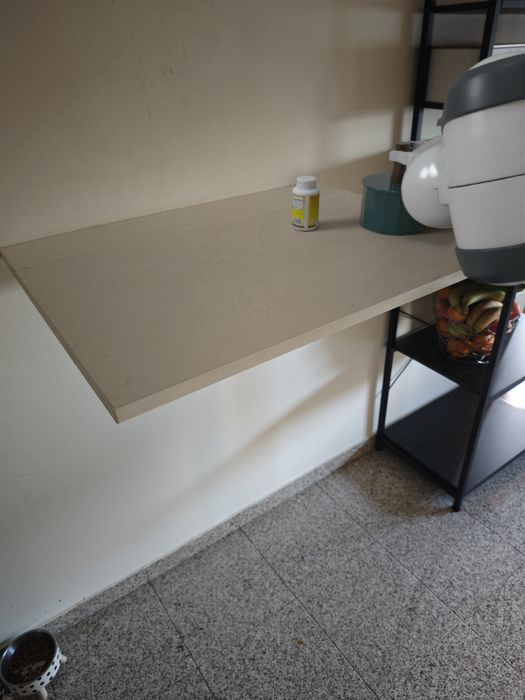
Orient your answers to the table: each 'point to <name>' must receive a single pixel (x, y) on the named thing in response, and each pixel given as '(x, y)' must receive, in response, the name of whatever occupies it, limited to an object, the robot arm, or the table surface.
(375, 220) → the pot
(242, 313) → the table surface
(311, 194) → the supplement bottle
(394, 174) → the lid
